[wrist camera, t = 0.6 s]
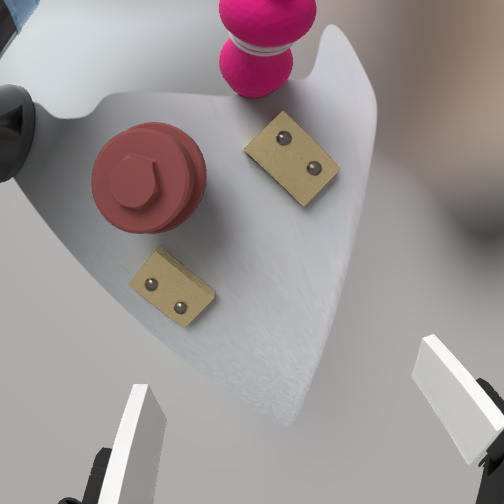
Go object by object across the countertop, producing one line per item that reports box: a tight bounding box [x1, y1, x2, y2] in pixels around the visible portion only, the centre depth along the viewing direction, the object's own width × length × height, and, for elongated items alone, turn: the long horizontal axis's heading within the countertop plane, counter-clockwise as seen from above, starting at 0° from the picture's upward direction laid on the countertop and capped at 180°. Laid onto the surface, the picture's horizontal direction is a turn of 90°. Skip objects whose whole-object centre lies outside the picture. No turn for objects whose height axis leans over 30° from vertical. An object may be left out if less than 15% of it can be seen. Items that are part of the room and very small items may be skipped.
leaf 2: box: [244, 111, 340, 206], centre depth 30 cm, size 9×6×2 cm, turn 47°
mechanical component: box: [92, 122, 206, 234], centre depth 25 cm, size 12×10×10 cm
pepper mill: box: [219, 0, 316, 98], centre depth 18 cm, size 7×7×20 cm
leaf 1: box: [129, 246, 215, 328], centre depth 34 cm, size 9×6×2 cm, turn 47°
